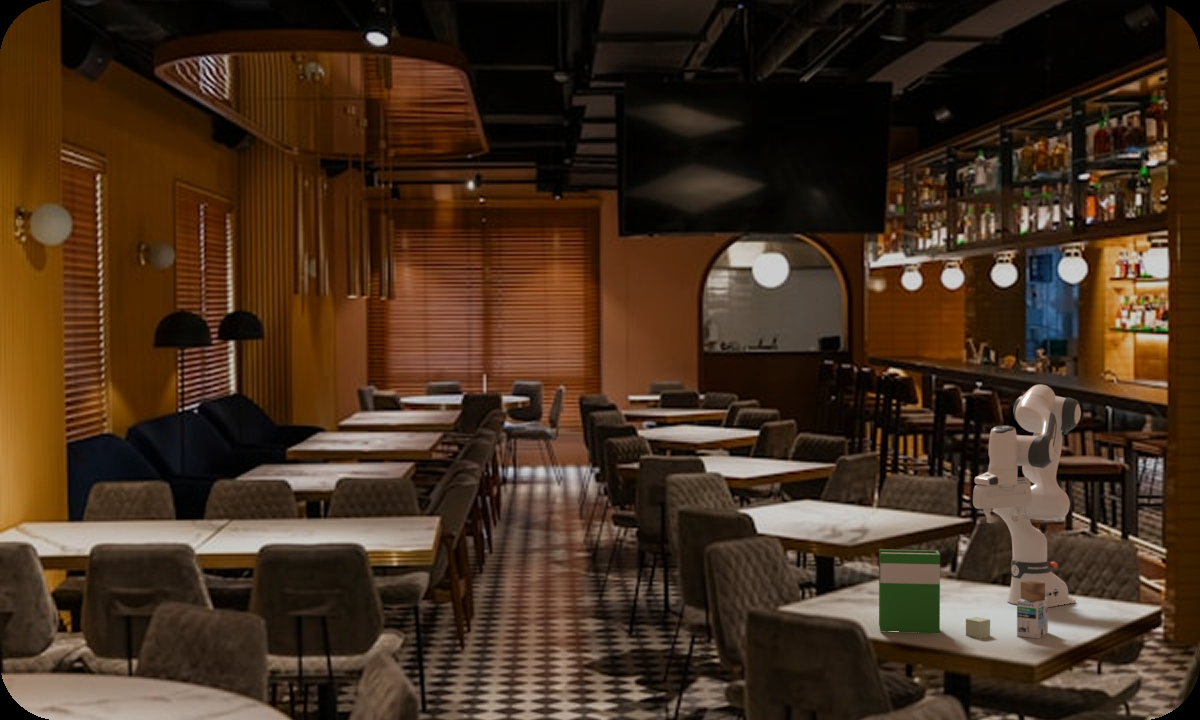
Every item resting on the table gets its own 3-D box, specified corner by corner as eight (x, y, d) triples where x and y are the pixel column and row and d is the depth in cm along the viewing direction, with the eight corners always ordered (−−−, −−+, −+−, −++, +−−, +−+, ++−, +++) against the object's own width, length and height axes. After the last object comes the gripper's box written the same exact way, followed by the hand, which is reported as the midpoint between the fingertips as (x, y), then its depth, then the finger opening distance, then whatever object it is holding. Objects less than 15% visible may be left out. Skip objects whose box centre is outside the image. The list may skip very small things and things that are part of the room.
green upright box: (880, 632, 445) (880, 553, 444) (878, 626, 452) (879, 549, 452) (939, 633, 443) (940, 554, 442) (937, 628, 450) (937, 550, 449)
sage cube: (976, 633, 443) (976, 616, 443) (990, 636, 439) (990, 619, 439) (965, 635, 440) (965, 618, 440) (979, 638, 436) (979, 621, 436)
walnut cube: (1034, 596, 444) (1034, 580, 444) (1045, 599, 439) (1045, 583, 439) (1020, 598, 442) (1020, 581, 442) (1031, 601, 437) (1031, 584, 437)
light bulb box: (1038, 639, 435) (1038, 603, 434) (1016, 636, 438) (1016, 600, 438) (1048, 632, 444) (1048, 597, 444) (1026, 630, 447) (1026, 594, 447)
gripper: (1023, 475, 467) (1023, 518, 467) (970, 478, 459) (969, 522, 459) (1036, 477, 461) (1036, 521, 461) (982, 480, 453) (982, 525, 454)
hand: (1002, 521), depth 460 cm, fingers open, 8 cm apart
